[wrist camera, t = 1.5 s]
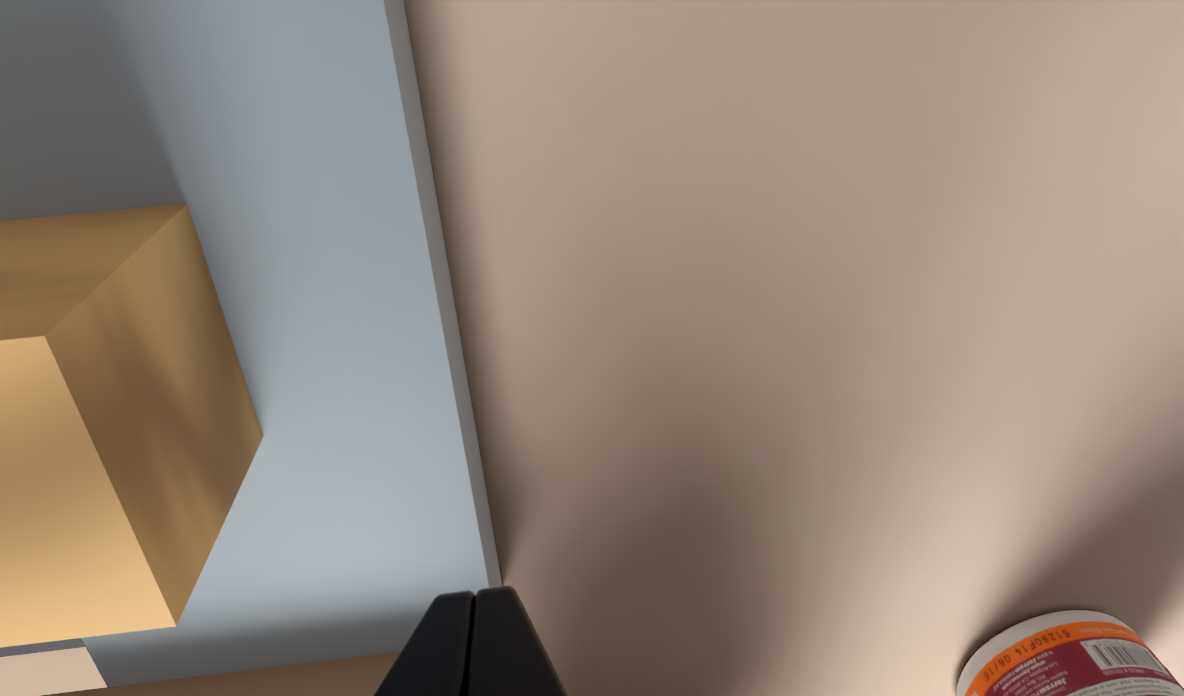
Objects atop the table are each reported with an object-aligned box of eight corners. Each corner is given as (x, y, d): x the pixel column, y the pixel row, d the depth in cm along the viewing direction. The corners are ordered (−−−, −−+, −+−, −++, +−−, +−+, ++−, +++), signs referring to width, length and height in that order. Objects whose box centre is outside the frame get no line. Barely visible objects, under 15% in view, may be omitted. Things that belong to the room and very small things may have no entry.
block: (264, 436, 17) (176, 626, 12) (13, 463, 16) (-168, 667, 12) (187, 203, 14) (43, 335, 10) (-108, 231, 14) (-391, 380, 9)
